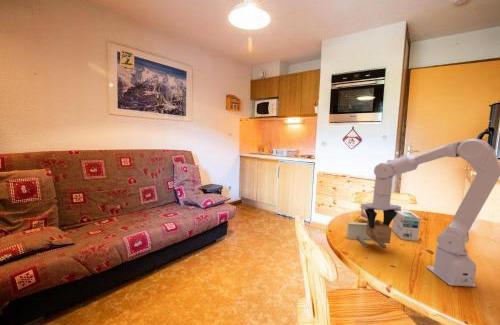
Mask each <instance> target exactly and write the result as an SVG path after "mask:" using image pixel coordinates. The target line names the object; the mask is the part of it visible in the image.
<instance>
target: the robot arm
mask: <svg viewBox="0 0 500 325" xmlns="http://www.w3.org/2000/svg"><path fill="white" fill-rule="evenodd" d="M399 156H400V157H397V158H394V159H387V160H386V162H380V163H379V164H377V165H375V167H374V170H373V173H374V175H375V179H374V187H373V188H374V189H373V198H372V202H369V203H368V202H366V203H365V202H364V203H360V207H361V208H360V209H363V211H364V212H365V213H366V215H367V218H368V222H369V227H370V228H374V222H375V220H376V218H377V214H378V213H377V212H376V211H383V212H382V213H383V220H382V222H383V223H384V224H386V225H388V226H389V227H390V225H391V223H392V222H393V218H394V217H395V216H396V215H397V212H395V211H401V210H402V206H400V205H399V204H392V203H391V199H392V198H391V196H392V190H393V189H392V188H393V180H394V179H393V178H394V177H395V176H398V175H401V174H405V173H408V172H413V171H415V170H417V168H418V167H419V165H421V164H425V163H429V162H432V161H435V160H438V159H439V160H440V159H442V158H446V157H448V158H461V159H463V160H464V161H466V162H467V163H468V164H470V166H471V168H472V169H473V170H474V171H475V173H476V174H475V177H474V179H473V180H472V182H471V184H470V185H469V188H468V190H467V191H466V193H465V195H464V197H463V199H462V200H461V203H460V205H459V206H458V208H457V210H456V212H455V214H454V216H453V218H452V219H451V221H450V223H449V224H448V226H446V227H445V228H444V229H443V230H442V232H441V233H439V235H438V236H437V240H436V241H437V244H436V249H435V250H436V251H435V255H434V256H435V257H434V264H433V266H430V265H429V266H428V265H427V266H426V269H427V270H429V271H430V272H432V273H433V274H434V275H435V276H437V277H438V278H439V279H441V280H442V281H444V282H445V283H447V285H449V286H453V287H473V288H475V287H477V284H475V283H474V282H475V277H476V273H477V265H476V263H475V261H473V259H471V258H470V257H469V256H468V255H469V254H468V250H467V249H466V247H465V246H466V244H467V243H468V241H469V239H470V236H469V231H470V230H471V228H472V226H473V224H474V223H475V220H476V219H477V217H478V215H479V214H480V212H481V210H482V209H483V206H484V205H485V203H486V201H487V200H488V198H489V196H490V194H492V191H493V189H494V188H495V185H496V184H497V182H498V181H499V179H500V162H499V159H498V156H497V153H496V150H495V148H493V147H492V145H490V144H489V142H488V141H486V140H483V139H479V138H468V139H464V140H462V141H456V142H451V143H447V144H444V145H442V146H439V147H436V148H433V149H431V150H427V151H425V152H422V153H420V154H418V155H415V156H414V155H413V154H412V155H411V154H406V153H405V154H403V153H402V154H401V155H399Z"/></svg>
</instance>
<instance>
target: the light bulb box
mask: <svg viewBox="0 0 500 325" xmlns="http://www.w3.org/2000/svg"><path fill="white" fill-rule="evenodd" d="M395 212H397V215H396V216H395V217H394V218H393V220H392V226H391V228H392V230H391V232H394V234H395V235H396V236H398V238H400V240H403V241H405V240H406V241H414V242H419V233H420V227H421V226H420V225H421V221H422V220H421V219H422V218H421V217H420V216H418V215H416V214H415V213H413V212H412V211H410V210H408V209H401V211H395Z"/></svg>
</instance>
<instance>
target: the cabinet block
mask: <svg viewBox="0 0 500 325" xmlns="http://www.w3.org/2000/svg"><path fill="white" fill-rule="evenodd" d="M366 223H367V227H366V234H367V235H368V236H369V237H370V238H371V239H373V240H372V241H374V242H375V243H377V244H378V243H384V244H391V237H392V226H391V227H390V225H389V226H388V225H386V224H384V223H383V221H382V220H380V219H375V222H374V228H370V227H369V222H368V220H367V219H366ZM371 239H370V240H371Z"/></svg>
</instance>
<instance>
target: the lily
mask: <svg viewBox="0 0 500 325" xmlns="http://www.w3.org/2000/svg"><path fill="white" fill-rule="evenodd" d="M359 208H360V209H361V206H359ZM359 217H362V218H364V219H366V221H367V220H368V218H367V215H366V212H365V210H363V209H361V210H360V214H359V216H358V217H356V219H354V222H356V221H357V220H358V219H359Z"/></svg>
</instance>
